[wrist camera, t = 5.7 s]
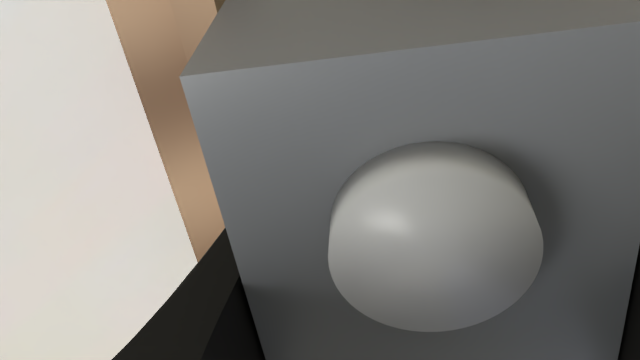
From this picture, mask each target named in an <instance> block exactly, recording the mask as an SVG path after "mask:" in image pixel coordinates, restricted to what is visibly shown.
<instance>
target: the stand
mask: <svg viewBox="0 0 640 360" xmlns="http://www.w3.org/2000/svg"><path fill="white" fill-rule="evenodd" d="M224 1H225V0H106V2H107V5H108V8H109V10H110V13H111V16H112V19H113V22H114V25H115V28H116V30H117V33H118V36H119V39H120V42H121V45H122V47H123V50H124V53H125V56H126V59H127V62H128V65H129V67H130V70H131V73H132V76H133V79H134V82H135V85H136V87H137V90H138V93H139V96H140V99H141V102H142V105H143V107H144V110H145V113H146V116H147V119H148V122H149V124H150V127H151V130H152V133H153V136H154V139H155V142H156V144H157V147H158V150H159V153H160V156H161V159H162V162H163V164H164V167H165V170H166V173H167V176H168V179H169V182H170V184H171V187H172V190H173V193H174V196H175V199H176V202H177V204H178V207H179V210H180V213H181V216H182V219H183V221H184V224H185V227H186V230H187V233H188V236H189V239H190V241H191V244H192V247H193V250H194V253H195V256H196V259H197V261H198V262H199V261H200V259H201V258H202V257H203V256H204V254H205V253H206V252H207V251H208V249H209V248H210V247H211V245H212V244H213V243H214V241H215V240H216V239H217V238H218V236H219V235H220V234H221V232H222V231H223V230H224V228H225V225H224V221H223V218H222V215H221V212H220V208H219V205H218V202H217V198H216V195H215V192H214V189H213V185H212V182H211V179H210V175H209V172H208V169H207V166H206V162H205V159H204V156H203V152H202V149H201V146H200V143H199V139H198V136H197V133H196V130H195V126H194V123H193V120H192V116H191V113H190V110H189V107H188V103H187V100H186V97H185V93H184V90H183V87H182V84H181V80H180V77H179V76H180V75H181V73H182V71H183V70H184V68H185V66H186V65H187V63H188V61H189V60H190V58H191V56H192V55H193V53H194V51H195V50H196V48H197V46H198V45H199V43H200V41H201V40H202V38H203V36H204V35H205V33H206V31H207V30H208V28H209V26H210V25H211V23H212V21H213V20H214V18H215V16H216V15H217V13H218V11H219V10H220V8H221V6H222V5H223V3H224Z"/></svg>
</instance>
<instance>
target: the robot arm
mask: <svg viewBox="0 0 640 360" xmlns="http://www.w3.org/2000/svg"><path fill="white" fill-rule="evenodd" d="M112 360H266V359H265V356H264V352H263V349H262V346H261V343H260V339H259V336H258V333H257V330H256V326H255V323H254V320H253V316H252V313H251V310H250V307H249V303H248V300H247V297H246V293H245V290H244V287H243V284H242V280H241V277H240V274H239V271H238V267H237V264H236V261H235V257H234V254H233V251H232V248H231V244H230V241H229V238H228V234H227V231H226V228H224V230H223V231H222V232H221V234H220V235H219V236H218V238H217V239H216V240H215V241H214V243H213V244H212V245H211V247H210V248H209V249H208V251H207V252H206V253H205V254H204V256H203V257H202V258H201V259H200V261H199V262H198V263H197V265H196V266H195V267H194V268H193V270H192V271H191V272H190V273H189V274H188V276H187V277H186V278H185V279H184V281H183V282H182V283H181V284H180V285H179V287H178V288H177V289H176V290H175V292H174V293H173V294H172V295H171V296H170V298H169V299H168V300H167V301H166V302H165V303H164V305H163V306H162V307H161V308H160V309H159V310H158V311H157V312H156V313H155V315H154V316H153V317H152V318H151V319H150V320H149V321H148V322H147V323H146V325H145V326H144V327H143V328H142V329H141V330H140V331H139V332H138V333H137V334H136V336H135V337H134V338H133V339H132V340H131V341H130V342H129V343H128V344H127V345H126V346H125V347H124V348H123V349H122V350H121V351H120V352H119V353H118V354H117V355H116V356H115V357H114V358H113V359H112ZM618 360H640V245H639V251H638V256H637V261H636V266H635V272H634V277H633V282H632V287H631V292H630V298H629V303H628V308H627V313H626V319H625V324H624V329H623V334H622V339H621V345H620V350H619V355H618Z"/></svg>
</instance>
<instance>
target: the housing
mask: <svg viewBox="0 0 640 360" xmlns="http://www.w3.org/2000/svg"><path fill="white" fill-rule="evenodd" d="M179 77H180V80H181V84H182V87H183V90H184V93H185V97H186V100H187V103H188V107H189V110H190V113H191V116H192V120H193V123H194V126H195V130H196V133H197V136H198V139H199V143H200V146H201V149H202V152H203V156H204V159H205V162H206V166H207V169H208V172H209V175H210V179H211V182H212V185H213V189H214V192H215V195H216V198H217V202H218V205H219V208H220V212H221V215H222V218H223V221H224V225H225V228H226V231H227V234H228V238H229V241H230V244H231V248H232V251H233V254H234V257H235V261H236V264H237V267H238V271H239V274H240V277H241V280H242V284H243V287H244V290H245V293H246V297H247V300H248V303H249V307H250V310H251V313H252V316H253V320H254V323H255V326H256V330H257V333H258V336H259V339H260V343H261V346H262V349H263V352H264V356H265V359H266V360H618V355H619V350H620V345H621V339H622V334H623V329H624V324H625V319H626V313H627V308H628V303H629V298H630V292H631V287H632V282H633V277H634V272H635V266H636V261H637V256H638V251H639V245H640V0H225V1H224V3H223V5H222V6H221V8H220V10H219V11H218V13H217V15H216V16H215V18H214V20H213V21H212V23H211V25H210V26H209V28H208V30H207V31H206V33H205V35H204V36H203V38H202V40H201V41H200V43H199V45H198V46H197V48H196V50H195V51H194V53H193V55H192V56H191V58H190V60H189V61H188V63H187V65H186V66H185V68H184V70H183V71H182V73H181V75H180V76H179Z"/></svg>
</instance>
